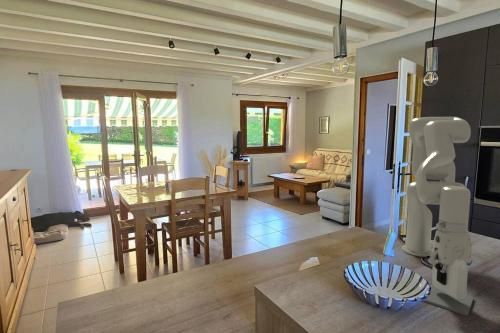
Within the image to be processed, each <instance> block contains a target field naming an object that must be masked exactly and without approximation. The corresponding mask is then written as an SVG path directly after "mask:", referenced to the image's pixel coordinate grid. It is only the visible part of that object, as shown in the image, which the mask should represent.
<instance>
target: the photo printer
mask: <svg viewBox="0 0 500 333" xmlns="http://www.w3.org/2000/svg"><path fill="white" fill-rule="evenodd" d="M436 263H437V260H436ZM441 267H442V263H441ZM468 271H469V266H468V265H467V264H466V263H465V262H464V261H463V260H462V259H456V260H455V261H454V262H453V264H452V265H447V267H446V270H445V273H446V274H447V276H446V285H442V284H441V283H439V282H438V281H437V269H435V267H434V266H433V265H432V274H431V275H432V277H431V278H432V279H431V283H432V284H431V285H433V286H435V287H436V288H438V289H440V290H441V291H443V292H445V293H447V294H448V295H450V296H452V297H454V298H456V299H459V300H463V299H465V297H466V295H467V288H468V287H467V286H468Z"/></svg>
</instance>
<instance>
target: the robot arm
mask: <svg viewBox="0 0 500 333" xmlns="http://www.w3.org/2000/svg"><path fill="white" fill-rule="evenodd" d="M408 128H409V129H408V131H409V132H408V133H409V137H410V140H411V144H412V161H411V174H412V177H414V178H415V181H413V182H410V183H409V184H408V185H407V187H406V196H407V221H406V224H407V225H406V235H405V237H402V241H403V242H404V244H403V245H402V246H401V250H402V251H403V252H404V253H407V254H409V255H411V256H416V257H421V258H422V257H423V258H426V257H427V256H429V258H428V257H427V258H428V260H427V262H428V263H430V264H431V265H432V267H433V266H434V267H435V269H437V281H438V282H439V283H441V284H442V285H446V276H447V274H446V273H445V270H446V267H447V265H452V264H453V262H454V261H455V260H456V259H462V260H463V261H464V262H465V263H466V264H467V266H468V265H469V264H470V263H471V262H472V261H473V260H474V259H473V258H472V250H473V248H472V246H473V245H472V236H471V232H470V231H469V219H470V218H469V217H470V206H471V205H470V204H471V191H470V189H469V188H467V187H466V185H465V184H463V183H460V182H456V165H455V161H454V160H455V158H456V150H455V146H454V144H464V143H467V142H468V141H469V140H470V138H471V134H472V131H471V126H470V124H469V123H468V121H466V120H465V119H463V118H460V117H458V116H424V117H416V118H413V119H412V120H410V122H409V126H408ZM428 180H429V181H428ZM430 180H432V181H430ZM433 180H438V181H433ZM427 205H439V215H438V223H436V224H435V225H436V228H437V229H436V231H435V234H434V239H433V242H432V243H433V244H431V241H432V228H433V227H432V226H433V213H432V211H431V210H430V208H428V206H427ZM431 245H432V248H431ZM431 255H432V256H431ZM436 260H437V263H436ZM441 263H442V267H441Z"/></svg>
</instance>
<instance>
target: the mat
mask: <svg viewBox="0 0 500 333" xmlns="http://www.w3.org/2000/svg"><path fill="white" fill-rule="evenodd" d="M429 286H430V287H431V293H430V295H429V297H428V298H427V299H426V300H425V301H423V302H425V303H427V304H430V305H433V306H437V307H439V308H442V309H445V310H447V311H451V312H454V313H457V314H460V315H463V316H465V317H469V314H470V311H471V308H472V305H473V302H474V296H471V295H468V294H466V297H465V299H463V300H459V299H456V298H454V297H452V296H450V295H448V294H447V293H445V292H443V291H441V290H440V289H438V288H436V287H435V286H433V285H432V284H429Z"/></svg>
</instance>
